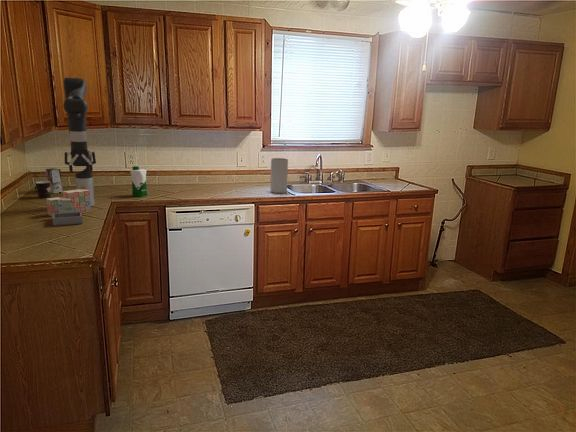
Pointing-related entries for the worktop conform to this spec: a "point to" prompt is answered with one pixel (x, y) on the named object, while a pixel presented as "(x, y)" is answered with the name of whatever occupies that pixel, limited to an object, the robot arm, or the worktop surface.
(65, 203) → the sage block
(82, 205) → the stack of blocks
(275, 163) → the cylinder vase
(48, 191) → the coffee mug
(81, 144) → the robot arm
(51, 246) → the worktop surface
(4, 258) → the worktop surface
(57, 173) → the coffee box
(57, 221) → the bin
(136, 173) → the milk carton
